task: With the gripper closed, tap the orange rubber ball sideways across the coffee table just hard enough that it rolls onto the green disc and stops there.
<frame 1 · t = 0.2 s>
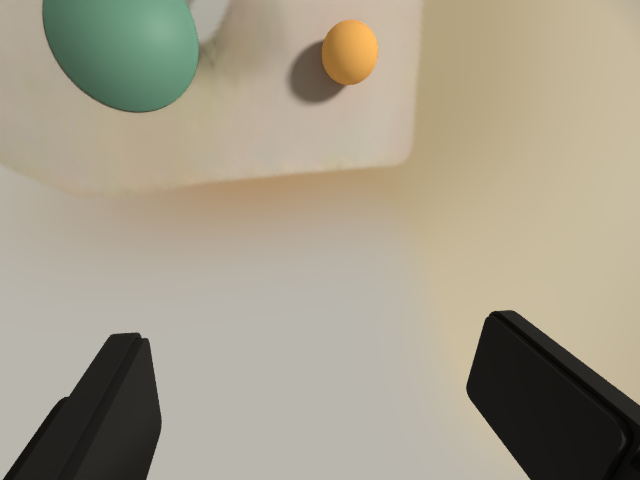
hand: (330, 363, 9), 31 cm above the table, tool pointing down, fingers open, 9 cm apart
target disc: (125, 36, 30), on the table
ball: (349, 53, 31), on the table
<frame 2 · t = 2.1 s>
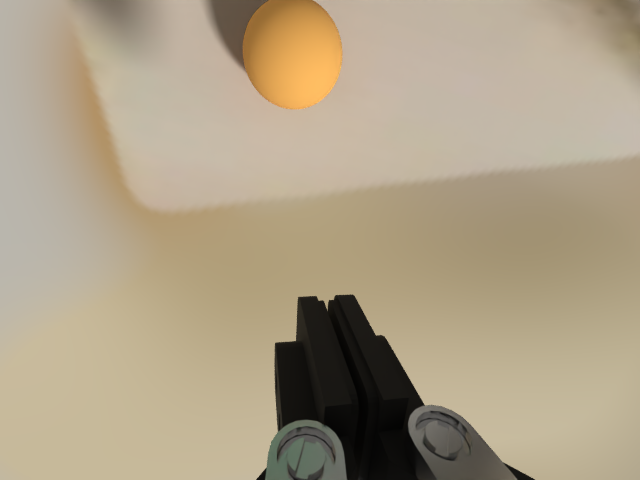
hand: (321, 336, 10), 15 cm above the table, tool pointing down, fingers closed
ball: (293, 56, 18), on the table
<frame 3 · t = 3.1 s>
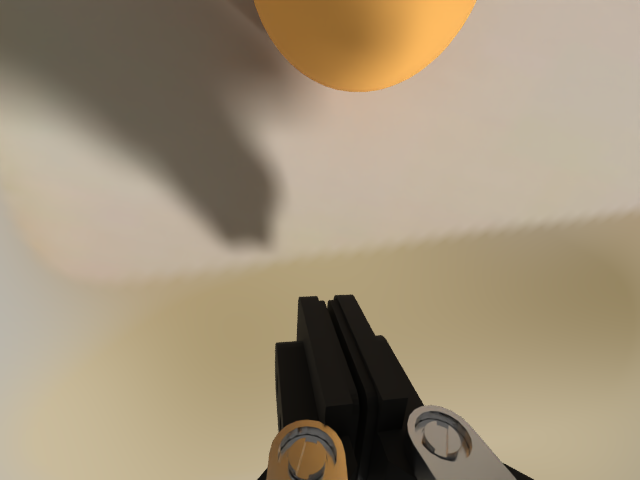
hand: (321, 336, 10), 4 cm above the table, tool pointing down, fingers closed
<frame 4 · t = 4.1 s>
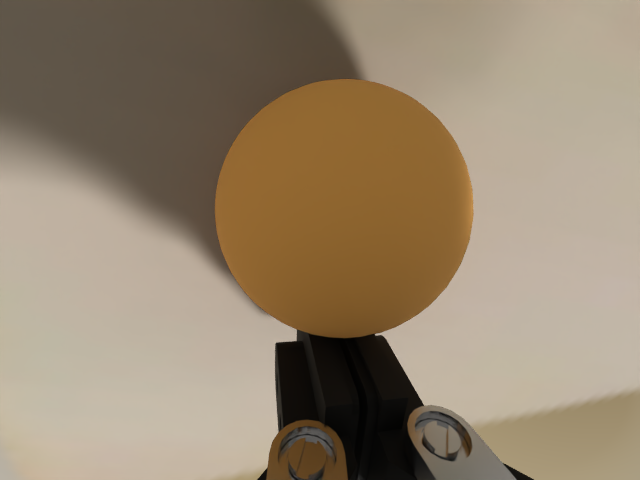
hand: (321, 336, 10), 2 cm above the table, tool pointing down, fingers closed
ball: (340, 212, 7), on the table
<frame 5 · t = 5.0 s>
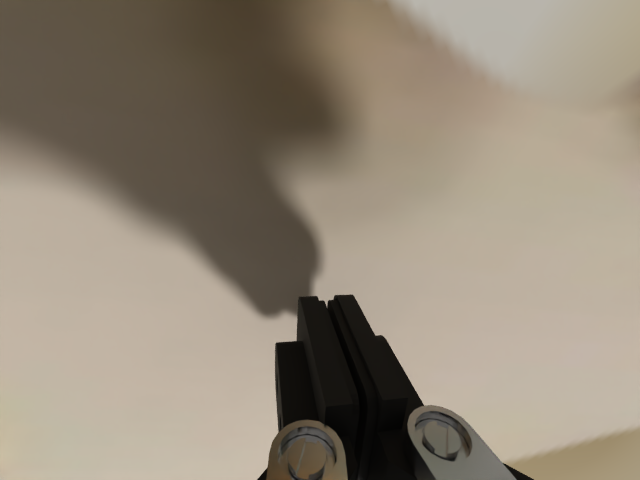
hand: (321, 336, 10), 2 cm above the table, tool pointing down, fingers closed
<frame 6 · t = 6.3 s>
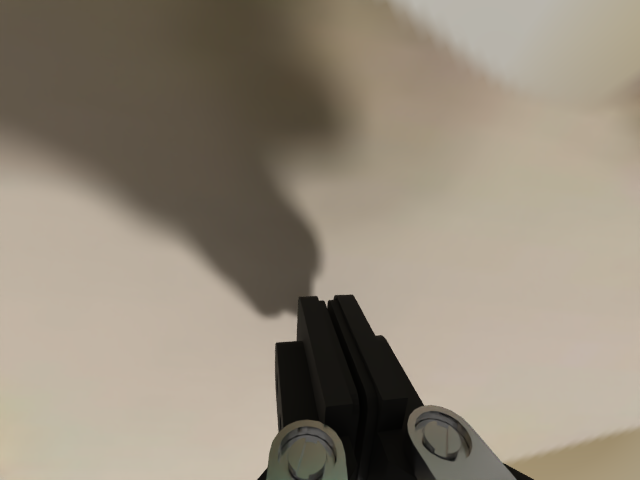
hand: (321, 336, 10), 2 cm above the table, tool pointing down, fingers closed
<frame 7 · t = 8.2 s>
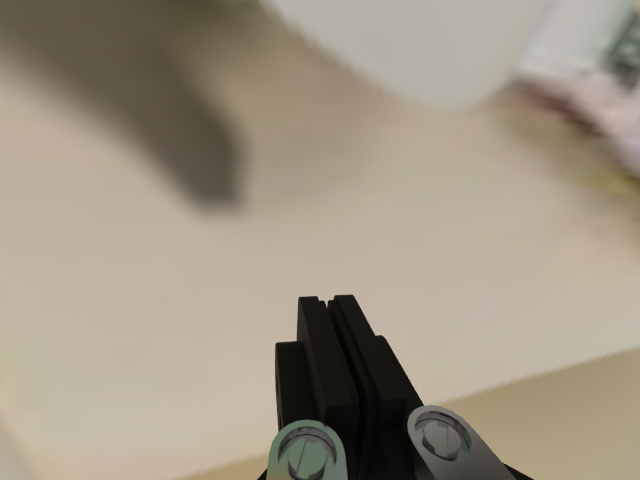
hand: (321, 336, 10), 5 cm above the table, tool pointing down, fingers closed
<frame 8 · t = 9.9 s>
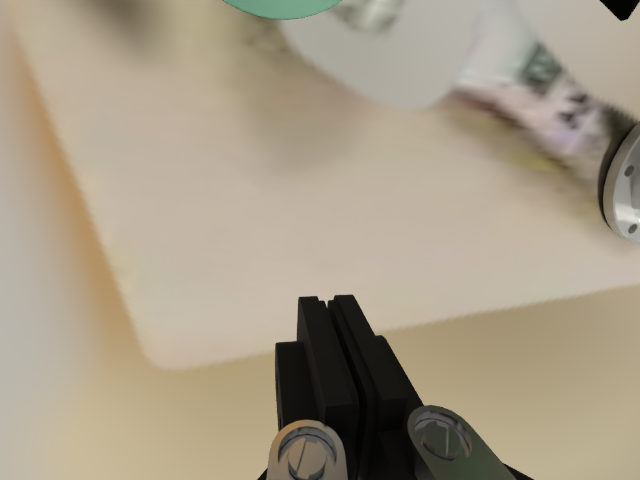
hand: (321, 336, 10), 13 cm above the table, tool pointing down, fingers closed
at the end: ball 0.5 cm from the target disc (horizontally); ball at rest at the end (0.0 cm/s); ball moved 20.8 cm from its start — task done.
